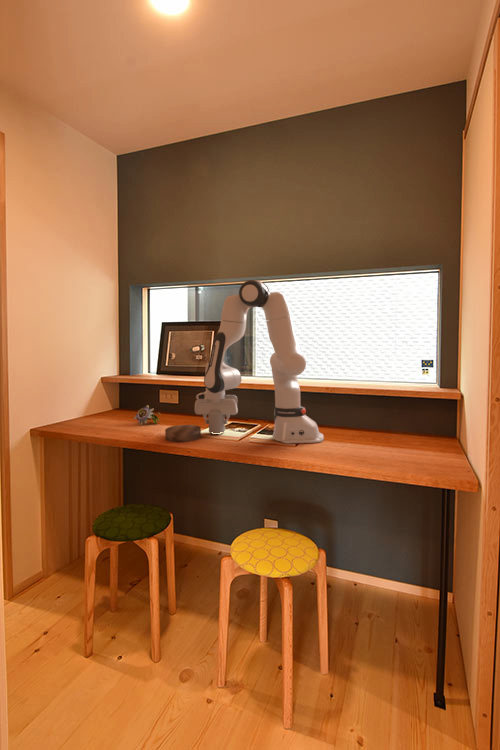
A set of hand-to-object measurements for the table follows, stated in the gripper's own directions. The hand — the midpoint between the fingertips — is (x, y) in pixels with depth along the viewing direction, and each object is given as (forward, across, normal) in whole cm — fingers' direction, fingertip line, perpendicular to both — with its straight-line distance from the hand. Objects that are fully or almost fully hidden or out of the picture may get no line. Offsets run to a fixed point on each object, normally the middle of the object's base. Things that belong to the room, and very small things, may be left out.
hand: (216, 423), depth 191 cm
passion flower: (+5, +43, -18) cm, 47 cm away
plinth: (+5, +14, +8) cm, 17 cm away
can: (+5, 0, 0) cm, 5 cm away
